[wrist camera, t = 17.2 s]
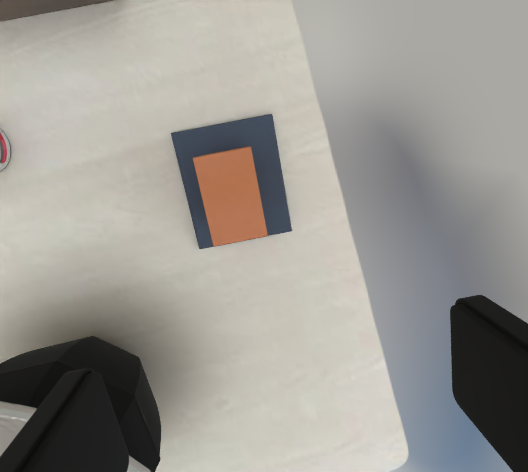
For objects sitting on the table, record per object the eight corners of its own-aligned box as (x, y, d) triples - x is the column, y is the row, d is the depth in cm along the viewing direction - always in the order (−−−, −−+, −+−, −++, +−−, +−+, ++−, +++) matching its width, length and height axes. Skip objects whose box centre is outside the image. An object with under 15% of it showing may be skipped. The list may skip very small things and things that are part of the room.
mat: (271, 114, 34) (272, 113, 33) (291, 229, 37) (291, 231, 37) (172, 133, 34) (170, 133, 33) (200, 247, 37) (199, 249, 36)
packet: (204, 154, 34) (192, 157, 25) (248, 146, 34) (250, 146, 25) (220, 222, 36) (213, 246, 27) (261, 214, 36) (267, 236, 27)
